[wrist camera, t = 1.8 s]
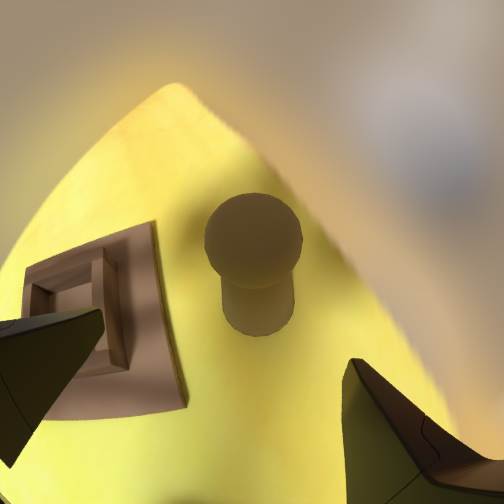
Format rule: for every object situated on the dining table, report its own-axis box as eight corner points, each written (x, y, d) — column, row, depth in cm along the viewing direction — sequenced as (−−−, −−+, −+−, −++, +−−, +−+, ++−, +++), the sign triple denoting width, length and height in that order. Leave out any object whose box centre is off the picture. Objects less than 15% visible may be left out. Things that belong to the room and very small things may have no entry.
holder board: (186, 407, 18) (169, 408, 14) (33, 419, 16) (7, 415, 12) (152, 227, 27) (138, 202, 24) (30, 271, 25) (11, 255, 21)
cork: (216, 278, 24) (185, 189, 14) (282, 262, 24) (291, 168, 15) (230, 344, 21) (198, 290, 11) (303, 325, 21) (334, 257, 12)
